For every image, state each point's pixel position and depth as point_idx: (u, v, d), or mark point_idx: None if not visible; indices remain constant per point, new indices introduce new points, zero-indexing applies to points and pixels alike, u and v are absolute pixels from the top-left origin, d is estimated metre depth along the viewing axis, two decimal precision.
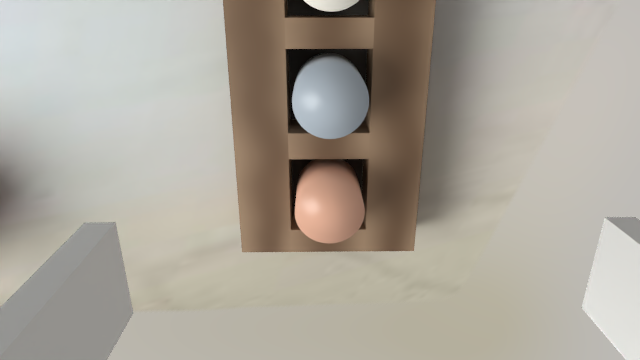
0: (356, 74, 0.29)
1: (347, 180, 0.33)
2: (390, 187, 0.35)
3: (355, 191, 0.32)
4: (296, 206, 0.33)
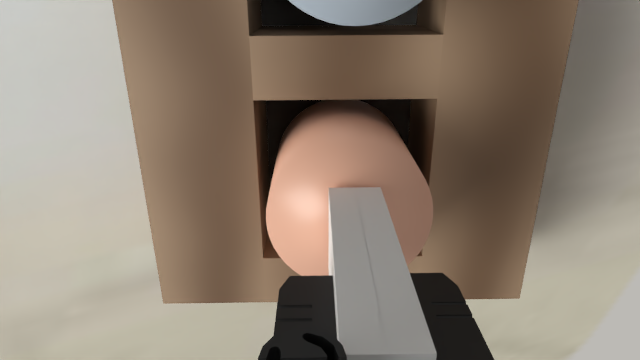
0: None
1: (390, 139, 0.14)
2: (481, 166, 0.16)
3: (413, 166, 0.13)
4: (269, 203, 0.14)
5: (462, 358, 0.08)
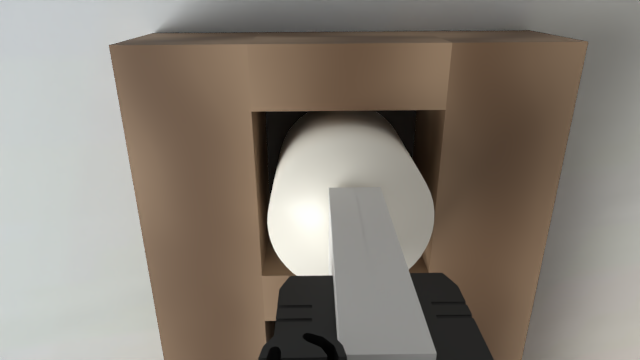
0: None
1: None
2: None
3: None
4: None
5: (462, 358, 0.08)
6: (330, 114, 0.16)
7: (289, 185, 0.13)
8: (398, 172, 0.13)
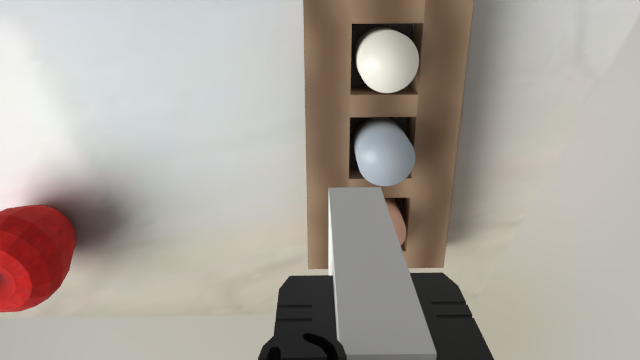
0: (406, 140, 0.39)
1: (393, 208, 0.44)
2: (426, 219, 0.45)
3: (399, 217, 0.43)
4: None
5: (462, 358, 0.08)
6: (378, 28, 0.40)
7: (367, 47, 0.38)
8: (406, 42, 0.37)
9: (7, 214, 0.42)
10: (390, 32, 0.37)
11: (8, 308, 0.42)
